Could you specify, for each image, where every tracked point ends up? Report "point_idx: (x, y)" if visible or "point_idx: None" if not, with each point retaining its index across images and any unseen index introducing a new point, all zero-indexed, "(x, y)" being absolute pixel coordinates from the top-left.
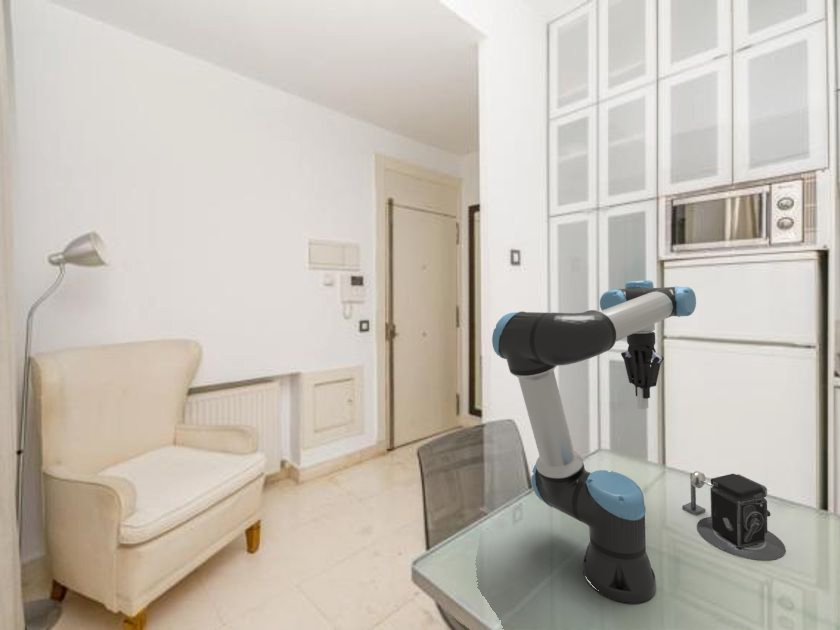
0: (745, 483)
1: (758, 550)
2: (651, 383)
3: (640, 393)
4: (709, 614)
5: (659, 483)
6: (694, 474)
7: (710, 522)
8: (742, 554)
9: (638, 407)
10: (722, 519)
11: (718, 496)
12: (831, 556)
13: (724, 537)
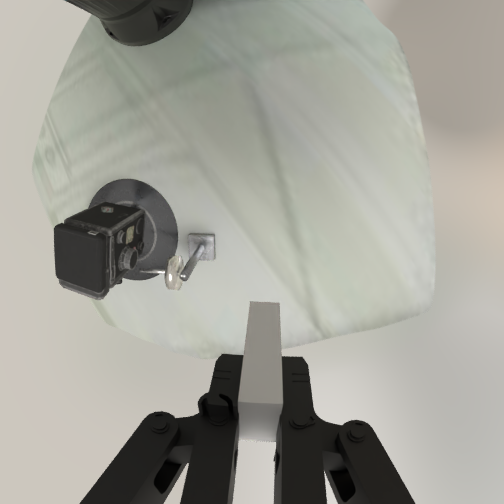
0: (69, 268)
1: None
2: (133, 440)
3: (251, 367)
4: (70, 67)
5: (295, 283)
6: (170, 269)
7: (165, 232)
8: (101, 193)
9: (274, 305)
10: (114, 212)
11: (100, 224)
12: None
13: None
